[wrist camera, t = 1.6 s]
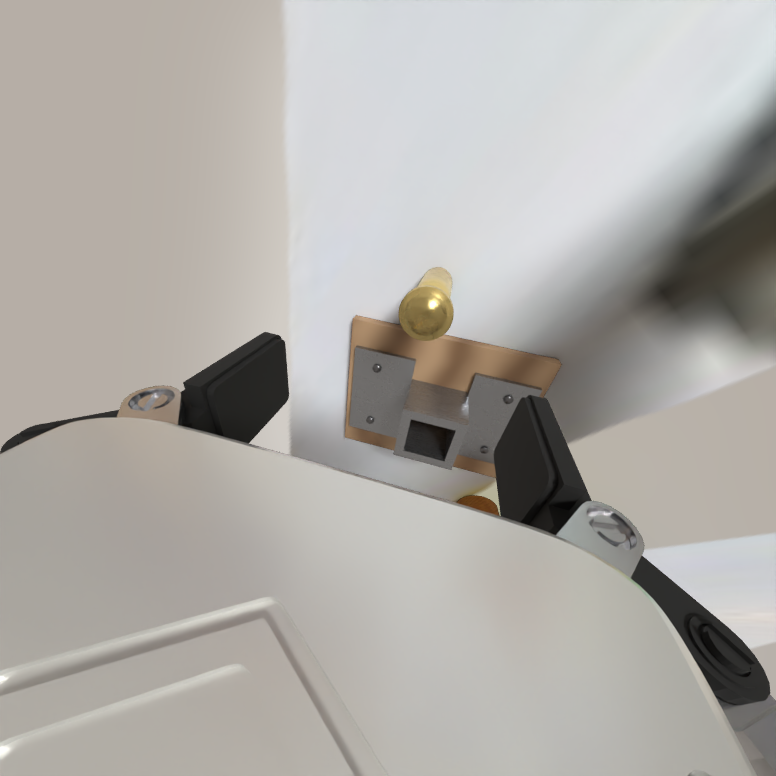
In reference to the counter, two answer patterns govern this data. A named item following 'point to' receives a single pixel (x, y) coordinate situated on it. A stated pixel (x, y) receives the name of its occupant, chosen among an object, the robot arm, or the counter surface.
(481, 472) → the mount board
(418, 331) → the hinge pin
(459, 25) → the counter surface
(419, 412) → the hinge
